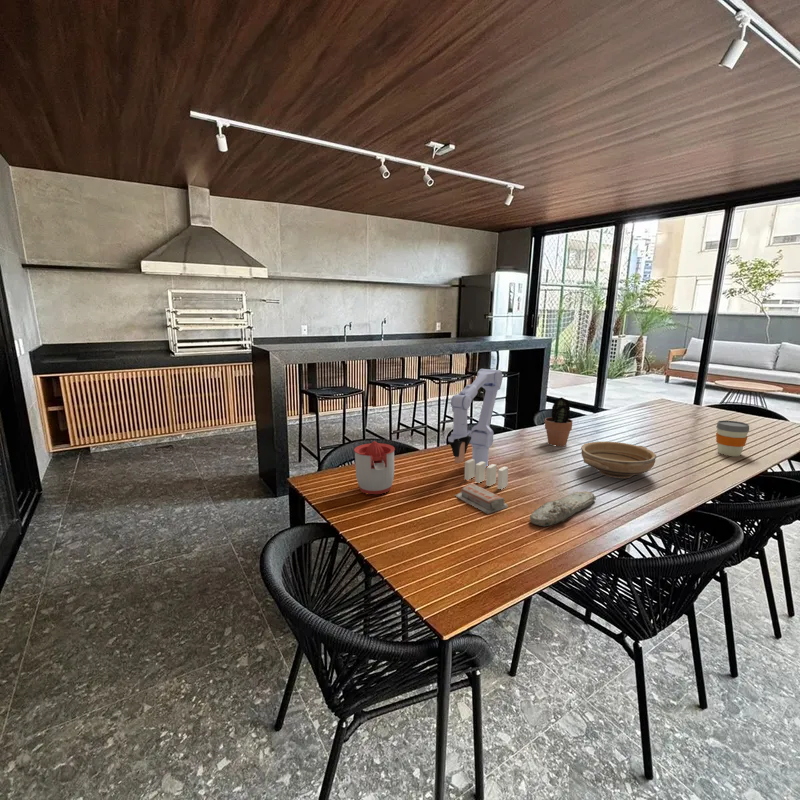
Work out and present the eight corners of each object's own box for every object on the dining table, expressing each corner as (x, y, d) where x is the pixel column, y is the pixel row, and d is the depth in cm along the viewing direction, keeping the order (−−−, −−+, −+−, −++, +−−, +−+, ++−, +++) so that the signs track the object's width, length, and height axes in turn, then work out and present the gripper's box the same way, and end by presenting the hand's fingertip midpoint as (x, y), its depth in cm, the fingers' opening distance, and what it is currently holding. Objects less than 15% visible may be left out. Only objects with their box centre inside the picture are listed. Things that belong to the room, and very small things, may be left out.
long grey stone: (602, 506, 156) (576, 499, 164) (603, 492, 155) (577, 485, 163) (549, 531, 134) (522, 522, 142) (549, 515, 133) (522, 506, 141)
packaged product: (509, 495, 151) (487, 502, 146) (508, 508, 152) (487, 515, 147) (474, 479, 166) (454, 485, 161) (474, 491, 167) (454, 497, 162)
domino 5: (497, 489, 168) (497, 469, 167) (503, 485, 172) (504, 466, 170) (501, 490, 167) (502, 470, 166) (507, 486, 171) (508, 467, 169)
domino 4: (485, 486, 171) (486, 467, 170) (492, 482, 175) (492, 463, 174) (490, 487, 170) (490, 468, 169) (496, 483, 174) (496, 464, 172)
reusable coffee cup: (752, 457, 202) (756, 426, 200) (725, 457, 203) (729, 426, 200) (732, 449, 215) (736, 420, 212) (707, 449, 215) (710, 420, 212)
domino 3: (475, 483, 175) (475, 464, 173) (481, 479, 178) (481, 461, 177) (478, 484, 173) (479, 465, 172) (485, 480, 177) (485, 462, 176)
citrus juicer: (360, 502, 157) (358, 450, 154) (352, 485, 174) (350, 437, 170) (401, 497, 161) (400, 446, 158) (389, 480, 178) (389, 434, 174)
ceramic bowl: (618, 493, 163) (621, 468, 161) (558, 470, 187) (559, 448, 186) (674, 475, 181) (677, 452, 179) (612, 457, 205) (614, 436, 203)
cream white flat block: (464, 480, 178) (464, 461, 176) (470, 476, 182) (471, 458, 180) (468, 481, 177) (468, 462, 175) (474, 477, 180) (474, 459, 179)
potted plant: (538, 442, 230) (540, 396, 225) (557, 439, 236) (559, 394, 231) (557, 449, 218) (560, 401, 213) (576, 445, 223) (580, 398, 219)
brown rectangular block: (454, 462, 180) (454, 444, 178) (461, 459, 183) (461, 441, 182) (458, 463, 179) (458, 444, 177) (464, 460, 182) (464, 442, 181)
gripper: (461, 418, 186) (460, 448, 188) (442, 425, 175) (442, 457, 178) (475, 421, 181) (475, 452, 184) (456, 427, 171) (456, 460, 173)
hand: (459, 454), depth 180 cm, fingers closed on brown rectangular block, 5 cm apart
